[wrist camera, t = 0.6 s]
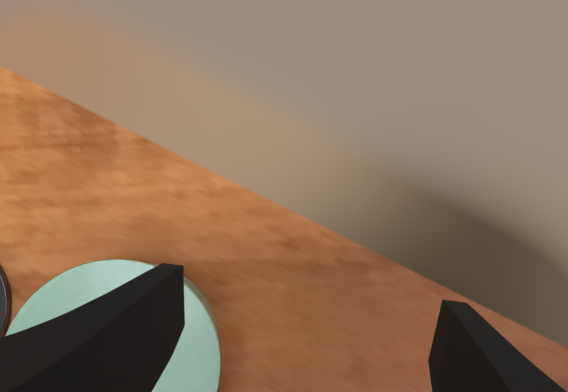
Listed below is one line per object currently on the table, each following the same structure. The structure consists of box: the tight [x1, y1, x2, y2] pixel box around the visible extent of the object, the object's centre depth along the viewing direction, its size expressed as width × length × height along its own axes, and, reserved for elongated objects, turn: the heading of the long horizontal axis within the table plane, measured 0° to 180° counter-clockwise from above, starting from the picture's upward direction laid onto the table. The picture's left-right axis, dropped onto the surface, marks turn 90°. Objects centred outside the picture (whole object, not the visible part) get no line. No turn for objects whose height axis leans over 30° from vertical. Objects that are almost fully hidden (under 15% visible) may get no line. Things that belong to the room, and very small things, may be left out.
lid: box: [6, 259, 221, 392], centre depth 25 cm, size 13×13×4 cm
